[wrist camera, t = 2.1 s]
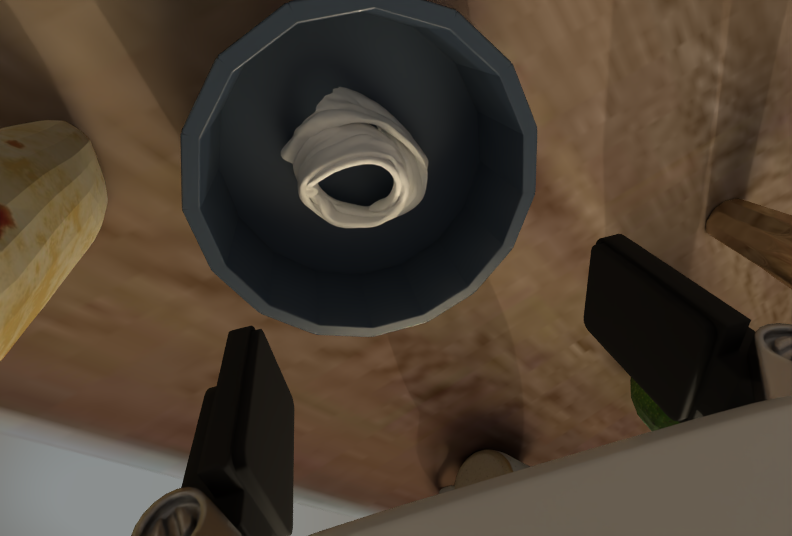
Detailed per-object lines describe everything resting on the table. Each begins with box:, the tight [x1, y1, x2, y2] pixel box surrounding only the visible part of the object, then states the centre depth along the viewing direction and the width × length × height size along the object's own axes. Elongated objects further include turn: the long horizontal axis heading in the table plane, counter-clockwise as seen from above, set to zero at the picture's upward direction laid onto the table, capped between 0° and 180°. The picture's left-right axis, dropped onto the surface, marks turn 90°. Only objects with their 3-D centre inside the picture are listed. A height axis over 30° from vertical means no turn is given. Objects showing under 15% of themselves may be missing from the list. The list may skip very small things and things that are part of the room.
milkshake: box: [706, 198, 792, 289], centre depth 28 cm, size 5×5×10 cm
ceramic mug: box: [439, 450, 530, 494], centre depth 40 cm, size 11×8×8 cm
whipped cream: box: [281, 87, 428, 228], centre depth 21 cm, size 8×7×5 cm
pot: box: [181, 0, 537, 337], centre depth 21 cm, size 16×16×6 cm
